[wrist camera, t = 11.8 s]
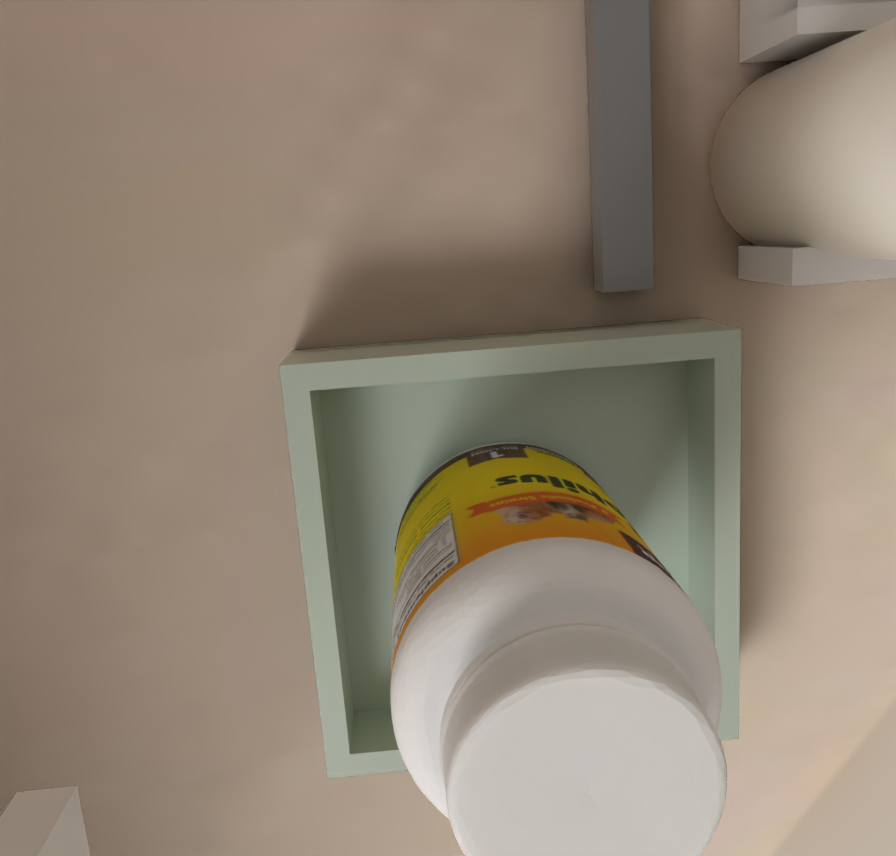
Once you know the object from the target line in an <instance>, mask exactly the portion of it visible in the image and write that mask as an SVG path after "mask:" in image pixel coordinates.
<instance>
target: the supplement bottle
mask: <svg viewBox="0 0 896 856" xmlns="http://www.w3.org/2000/svg"><path fill="white" fill-rule="evenodd" d="M390 703H391V714H392V723H393V728H394V734H395V738H396V741H397V745H398V748H399V751H400V753H401V756H402V758H403V761H404V763H405V765H406V767H407V769H408V770H409V772H410V774H411V776H412V778H413V780H414V781H415V783H416V784H417V786H418V787H419V789H420V790H421V791H422V792H423V794H424V795H425V796H426V797H427V799H428V800H429V801H430V802H431V803H432V804H433V805H434V806H435V807H436V808H437V809H438V810H439V811H441V812H442V813H443V814H444V815H445V816H446V817H447V818H449V819H450V823H451V826H452V829H453V832H454V835H455V838H456V840H457V842H458V844H459V846H460V848H461V850H462V852H463V853H464V855H465V856H699V855H700V853H701V852H702V851H703V850H704V848H705V847H706V845H707V844H708V843H709V841H710V839H711V837H712V835H713V833H714V831H715V829H716V827H717V825H718V823H719V820H720V817H721V814H722V810H723V806H724V801H725V796H726V787H727V769H726V760H725V755H724V751H723V748H722V744H721V741H720V738H719V735H718V733H717V729H718V725H719V720H720V713H721V705H722V679H721V669H720V664H719V660H718V655H717V651H716V648H715V645H714V642H713V639H712V637H711V634H710V632H709V630H708V628H707V626H706V624H705V622H704V620H703V619H702V617H701V615H700V613H699V612H698V611H697V609H696V608H695V606H694V605H693V603H692V602H691V601H690V599H689V598H688V596H687V595H686V593H685V592H684V591H683V590H682V588H681V587H680V586H679V585H678V583H677V582H676V581H675V580H674V578H673V577H672V576H671V574H670V573H669V572H668V570H667V569H666V568H665V567H664V566H663V565H662V563H661V562H660V561H659V560H658V558H657V557H656V556H655V555H654V553H653V552H652V551H651V550H650V548H649V547H648V546H647V545H646V543H645V542H644V541H643V539H642V538H641V537H640V536H639V534H638V533H637V532H636V530H635V529H634V528H633V527H632V525H631V524H630V523H629V522H628V520H627V519H626V518H625V517H624V515H623V514H622V513H621V512H620V510H619V509H618V508H617V507H616V505H615V504H614V503H613V502H612V500H611V499H610V498H609V497H608V495H607V494H606V493H605V491H604V490H603V489H602V488H601V487H600V485H599V484H598V483H597V482H596V481H595V480H594V479H593V478H592V477H591V476H590V475H589V474H588V473H587V472H586V471H585V470H584V469H583V468H582V467H580V466H579V465H578V464H576V463H575V462H574V461H572V460H571V459H569V458H567V457H566V456H564V455H562V454H560V453H557V452H555V451H553V450H550V449H547V448H544V447H541V446H537V445H533V444H527V443H518V442H501V443H492V444H487V445H482V446H478V447H474V448H471V449H469V450H466V451H464V452H462V453H459V454H457V455H455V456H454V457H452V458H450V459H448V460H447V461H445V462H444V463H442V464H441V465H440V466H439V467H437V468H436V469H435V470H434V471H433V472H431V473H430V474H429V475H428V476H427V477H426V478H425V479H424V481H423V482H422V483H421V484H420V485H419V487H418V488H417V489H416V491H415V492H414V493H413V495H412V497H411V499H410V500H409V502H408V504H407V506H406V508H405V511H404V513H403V515H402V518H401V521H400V525H399V529H398V534H397V540H396V546H395V575H394V595H393V630H392V654H391V682H390Z"/></svg>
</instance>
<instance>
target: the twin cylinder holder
mask: <svg viewBox="0 0 896 856" xmlns="http://www.w3.org/2000/svg"><path fill="white" fill-rule="evenodd" d="M585 21H586V51H587V82H588V112H589V143H590V173H591V204H592V235H593V265H594V290H596V291H599V292H603V293H608V292H621V291H634V290H647V289H654V251H653V192H652V133H651V73H650V14H649V0H585ZM794 59H799V60H797V61H794V62H792V63H790V64H788V65H785V66H783V67H781V68H778V69H776V70H774V71H771V72H769V73H767V74H765V75H763V76H762V77H760V78H758V79H757V80H755V81H754V82H753V83H751V84H750V85H749V86H748V87H746V88H745V89H744V90H743V91H742V92H741V93H740V94H739V95H738V96H737V97H736V99H735V100H734V101H733V103H732V104H731V105H730V106H729V108H728V110H727V111H726V113H725V115H724V116H723V118H722V120H721V122H720V125H719V127H718V129H717V132H716V135H715V138H714V141H713V146H712V151H711V161H710V173H711V183H712V188H713V193H714V196H715V199H716V202H717V204H718V206H719V208H720V210H721V212H722V214H723V216H724V217H725V219H726V220H727V222H728V223H729V224H730V225H731V227H732V228H733V229H734V230H735V231H736V232H737V233H738V234H739V235H741V236H742V237H743V238H744V239H746V240H747V241H749V242H750V243H752V244H754V245H744V246H738V279H743V280H750V281H757V282H764V283H771V284H778V285H785V286H805V285H818V284H831V283H843V282H856V281H869V280H882V279H895V278H896V0H740V31H739V63H750V62H765V61H779V60H794Z"/></svg>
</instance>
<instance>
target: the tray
mask: <svg viewBox="0 0 896 856" xmlns="http://www.w3.org/2000/svg"><path fill="white" fill-rule="evenodd" d="M279 371H280V380H281V388H282V397H283V405H284V413H285V422H286V430H287V439H288V447H289V456H290V464H291V472H292V481H293V489H294V498H295V506H296V515H297V523H298V532H299V540H300V548H301V557H302V565H303V574H304V582H305V591H306V599H307V607H308V616H309V624H310V633H311V641H312V650H313V658H314V667H315V675H316V683H317V692H318V700H319V709H320V717H321V726H322V734H323V743H324V751H325V759H326V768H327V776H328V778H338V777H348V776H358V775H369V774H379V773H389V772H400V771H409V770H408V769H407V767H406V765H405V763H404V761H403V758H402V756H401V753H400V751H399V748H398V745H397V741H396V738H395V734H394V728H393V723H392V714H391V703H390V682H391V654H392V630H393V595H394V575H395V546H396V540H397V534H398V529H399V525H400V521H401V518H402V515H403V513H404V511H405V508H406V506H407V504H408V502H409V500H410V499H411V497H412V495H413V493H414V492H415V491H416V489H417V488H418V487H419V485H420V484H421V483H422V482H423V481H424V479H425V478H426V477H427V476H428V475H429V474H430V473H431V472H433V471H434V470H435V469H436V468H437V467H439V466H440V465H441V464H442V463H444V462H445V461H447V460H448V459H450V458H452V457H454V456H455V455H457V454H459V453H462V452H464V451H466V450H469V449H471V448H474V447H478V446H482V445H487V444H492V443H501V442H518V443H527V444H533V445H537V446H541V447H544V448H547V449H550V450H553V451H555V452H557V453H560V454H562V455H564V456H566V457H567V458H569V459H571V460H572V461H574V462H575V463H576V464H578V465H579V466H580V467H582V468H583V469H584V470H585V471H586V472H587V473H588V474H589V475H590V476H591V477H592V478H593V479H594V480H595V481H596V482H597V483H598V484H599V485H600V487H601V488H602V489H603V490H604V491H605V493H606V494H607V495H608V497H609V498H610V499H611V500H612V502H613V503H614V504H615V505H616V507H617V508H618V509H619V510H620V512H621V513H622V514H623V515H624V517H625V518H626V519H627V520H628V522H629V523H630V524H631V525H632V527H633V528H634V529H635V530H636V532H637V533H638V534H639V536H640V537H641V538H642V539H643V541H644V542H645V543H646V545H647V546H648V547H649V548H650V550H651V551H652V552H653V553H654V555H655V556H656V557H657V558H658V560H659V561H660V562H661V563H662V565H663V566H664V567H665V568H666V569H667V570H668V572H669V573H670V574H671V576H672V577H673V578H674V580H675V581H676V582H677V583H678V585H679V586H680V587H681V588H682V590H683V591H684V592H685V593H686V595H687V596H688V598H689V599H690V601H691V602H692V603H693V605H694V606H695V608H696V609H697V611H698V612H699V613H700V615H701V617H702V619H703V620H704V622H705V624H706V626H707V628H708V630H709V632H710V634H711V637H712V639H713V642H714V645H715V648H716V651H717V655H718V660H719V664H720V669H721V679H722V705H721V713H720V720H719V725H718V729H717V733H718V735H719V738H720V741H721V740H731V739H739V620H740V460H741V329H739V328H735V327H732V326H728V325H725V324H721V323H718V322H715V321H711V320H708V319H704V318H697V319H684V320H671V321H659V322H646V323H633V324H620V325H608V326H595V327H582V328H570V329H557V330H544V331H532V332H519V333H506V334H493V335H481V336H468V337H455V338H443V339H430V340H417V341H404V342H392V343H379V344H366V345H354V346H341V347H328V348H316V349H303V350H293V351H292V352H291V353H290V354H289V355H288V356H287V357H286V359H285V360H284V361H283V362H282V363H281V364H280V365H279Z"/></svg>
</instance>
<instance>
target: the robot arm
mask: <svg viewBox="0 0 896 856" xmlns="http://www.w3.org/2000/svg"><path fill="white" fill-rule="evenodd" d="M0 856H90V851H89V846H88V840H87V835H86V830H85V825H84V820H83V814H82V809H81V804H80V799H79V793H78V788H77V786H67V787H58V788H49V789H40V790H31V791H22V792H16V794H15V795H14V797H13V798H12V800H11V801H10V803H9V805H8V806H7V808H6V809H5V811H4V812H3V814H2V815H1V817H0Z"/></svg>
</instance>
